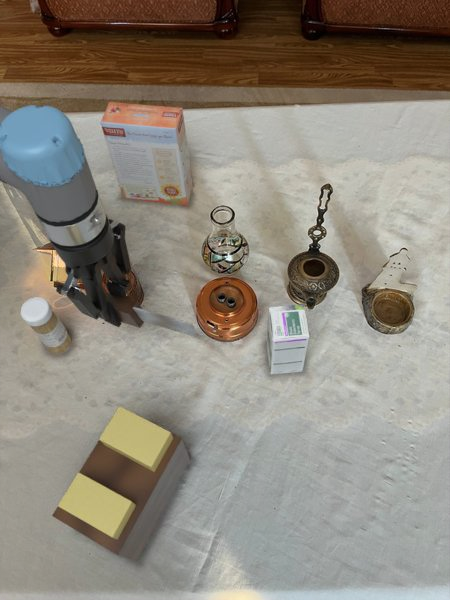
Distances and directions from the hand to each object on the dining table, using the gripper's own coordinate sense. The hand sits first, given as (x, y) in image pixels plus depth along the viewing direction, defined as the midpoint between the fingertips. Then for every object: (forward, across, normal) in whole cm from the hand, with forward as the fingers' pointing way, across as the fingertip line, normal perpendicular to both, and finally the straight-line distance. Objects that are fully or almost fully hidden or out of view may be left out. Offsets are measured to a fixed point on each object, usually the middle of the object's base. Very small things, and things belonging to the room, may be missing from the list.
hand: (118, 314), depth 85 cm
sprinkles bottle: (+11, -6, +11) cm, 17 cm away
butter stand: (+11, -22, -15) cm, 28 cm away
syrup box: (+11, +9, -26) cm, 29 cm away
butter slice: (-3, -26, -15) cm, 30 cm away
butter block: (-3, -16, -15) cm, 23 cm away
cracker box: (+11, +32, +13) cm, 36 cm away
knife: (-2, 0, -6) cm, 6 cm away
